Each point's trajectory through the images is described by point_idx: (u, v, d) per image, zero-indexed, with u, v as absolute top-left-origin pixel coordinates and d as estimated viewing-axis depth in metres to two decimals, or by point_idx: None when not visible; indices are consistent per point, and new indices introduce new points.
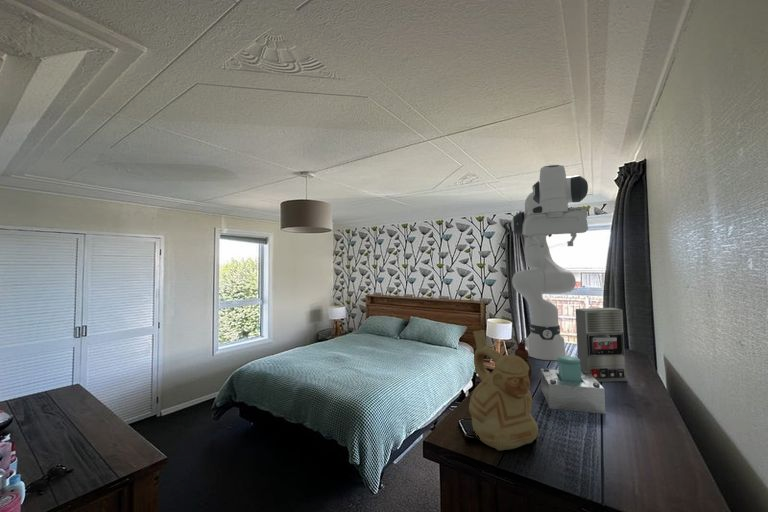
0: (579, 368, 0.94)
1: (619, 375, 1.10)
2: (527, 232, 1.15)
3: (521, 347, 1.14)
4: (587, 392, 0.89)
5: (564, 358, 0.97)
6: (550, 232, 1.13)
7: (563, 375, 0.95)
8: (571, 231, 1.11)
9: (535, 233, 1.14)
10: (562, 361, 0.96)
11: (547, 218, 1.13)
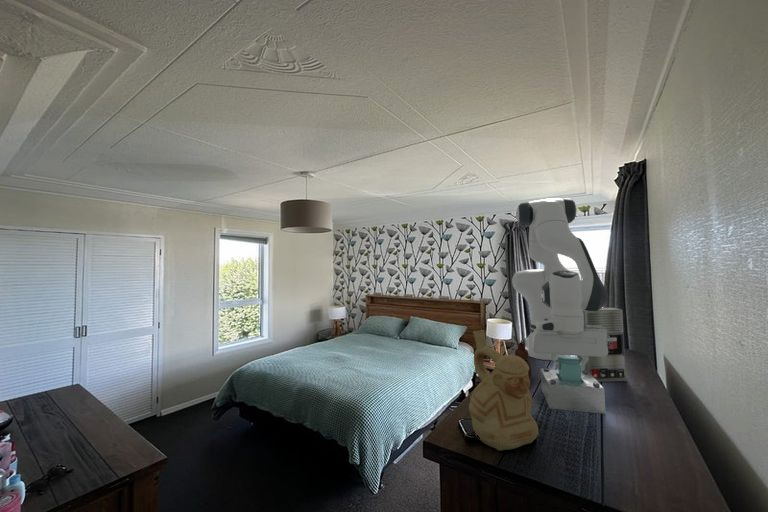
0: (579, 368, 0.94)
1: (619, 375, 1.10)
2: (536, 350, 0.98)
3: (521, 347, 1.14)
4: (587, 392, 0.89)
5: (564, 358, 0.97)
6: (563, 353, 0.96)
7: (563, 375, 0.95)
8: (588, 354, 0.94)
9: (545, 352, 0.97)
10: (562, 361, 0.96)
11: (559, 336, 0.96)
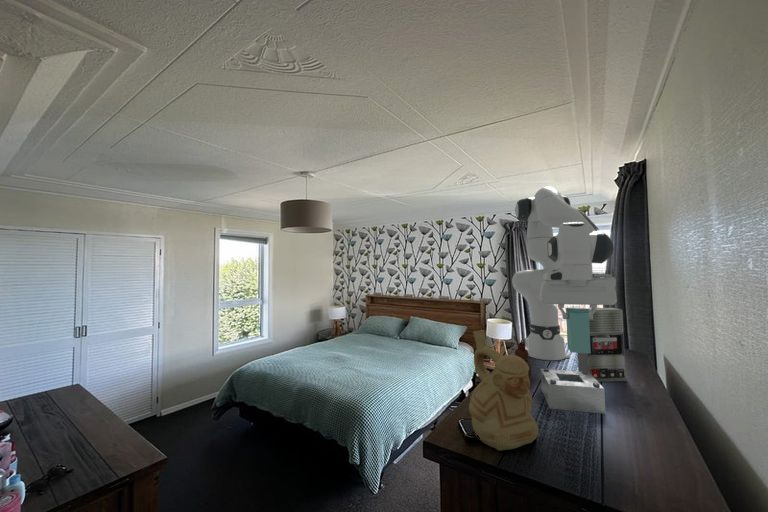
0: (587, 316, 0.94)
1: (619, 375, 1.10)
2: (544, 301, 0.98)
3: (521, 347, 1.14)
4: (587, 392, 0.89)
5: (572, 308, 0.97)
6: (571, 302, 0.96)
7: (571, 324, 0.95)
8: (596, 303, 0.94)
9: (553, 303, 0.98)
10: (570, 310, 0.96)
11: (567, 286, 0.96)
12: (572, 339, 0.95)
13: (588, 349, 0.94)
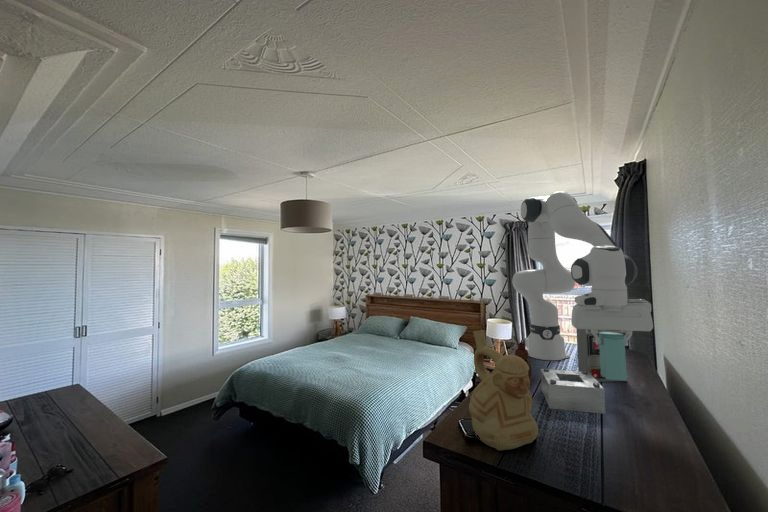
0: (623, 343, 0.92)
1: None
2: (577, 326, 0.97)
3: (521, 347, 1.14)
4: (587, 392, 0.89)
5: (606, 333, 0.96)
6: (605, 328, 0.94)
7: (606, 350, 0.93)
8: (632, 329, 0.92)
9: (587, 328, 0.96)
10: (605, 336, 0.94)
11: (602, 311, 0.95)
12: (607, 366, 0.93)
13: (624, 376, 0.92)
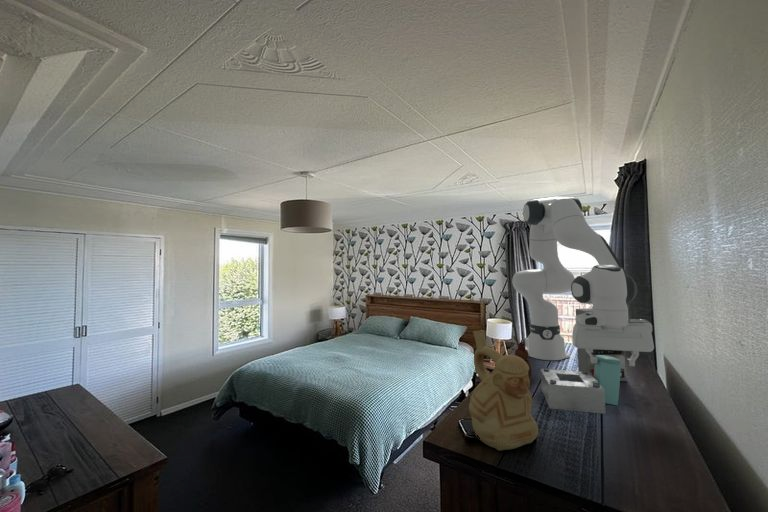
0: (619, 368, 0.93)
1: None
2: (577, 345, 0.96)
3: (521, 347, 1.14)
4: (587, 392, 0.89)
5: (603, 357, 0.96)
6: (606, 348, 0.94)
7: (602, 374, 0.94)
8: (633, 349, 0.92)
9: (587, 347, 0.96)
10: (602, 360, 0.94)
11: (602, 331, 0.95)
12: None
13: (616, 401, 0.93)
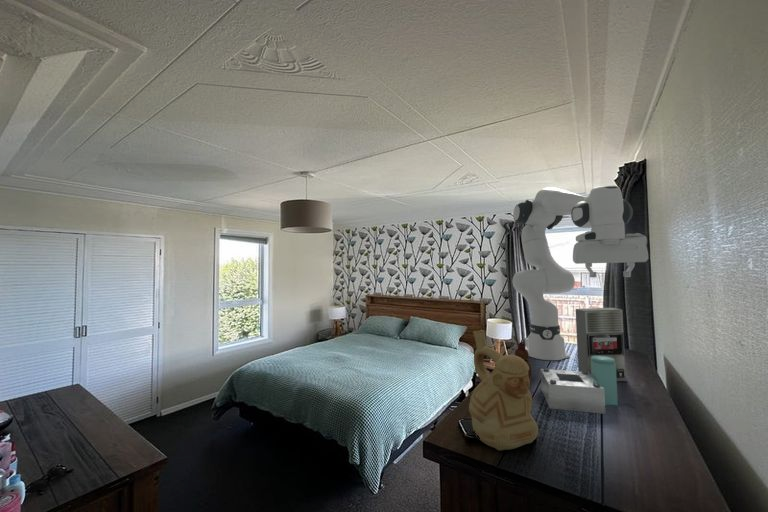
0: (614, 368, 0.93)
1: (619, 375, 1.10)
2: (578, 260, 1.04)
3: (521, 347, 1.14)
4: (587, 392, 0.89)
5: (598, 358, 0.97)
6: (604, 261, 1.01)
7: (598, 375, 0.94)
8: (629, 260, 0.99)
9: (587, 262, 1.03)
10: (597, 361, 0.95)
11: (601, 245, 1.02)
12: None
13: (615, 401, 0.93)
